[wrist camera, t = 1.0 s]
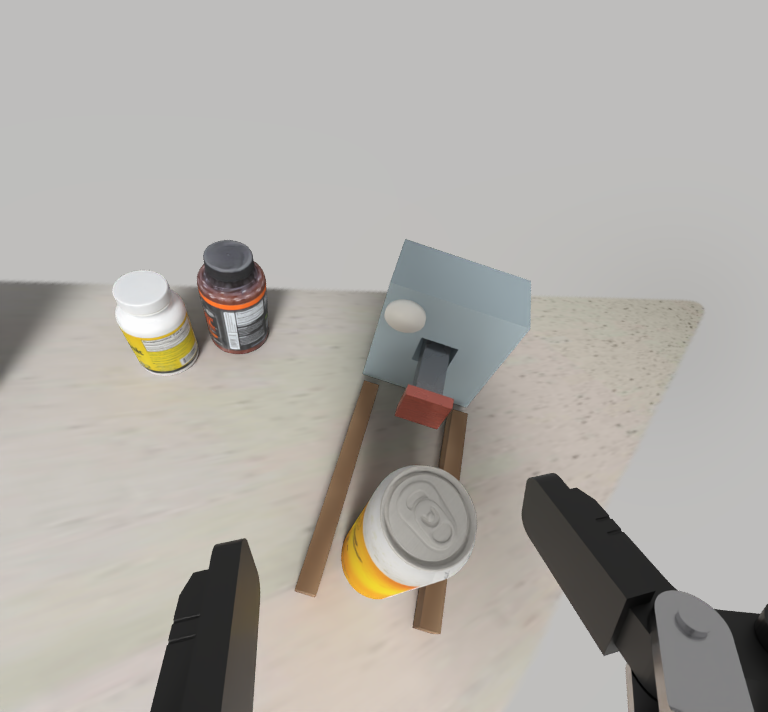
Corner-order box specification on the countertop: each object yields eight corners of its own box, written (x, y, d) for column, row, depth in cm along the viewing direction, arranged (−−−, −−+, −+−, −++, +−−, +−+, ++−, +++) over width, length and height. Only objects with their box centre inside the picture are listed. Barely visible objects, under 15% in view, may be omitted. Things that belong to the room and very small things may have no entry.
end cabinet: (361, 377, 42) (388, 286, 31) (376, 333, 46) (405, 239, 35) (465, 411, 42) (530, 333, 31) (471, 365, 46) (530, 280, 35)
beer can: (382, 504, 35) (433, 439, 23) (425, 565, 33) (506, 527, 21) (325, 548, 32) (349, 499, 20) (369, 618, 30) (425, 610, 18)
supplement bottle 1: (136, 340, 39) (99, 268, 31) (194, 329, 41) (172, 258, 34) (143, 384, 37) (104, 318, 29) (204, 370, 39) (183, 304, 31)
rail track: (294, 591, 30) (295, 588, 28) (361, 389, 41) (364, 380, 40) (432, 633, 30) (440, 634, 29) (460, 422, 42) (467, 413, 40)
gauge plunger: (394, 415, 35) (405, 394, 31) (415, 334, 41) (426, 308, 37) (437, 429, 35) (452, 409, 32) (451, 346, 41) (465, 321, 38)
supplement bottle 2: (203, 321, 42) (180, 237, 33) (257, 307, 45) (250, 225, 36) (221, 364, 40) (202, 285, 31) (277, 346, 42) (275, 269, 33)
